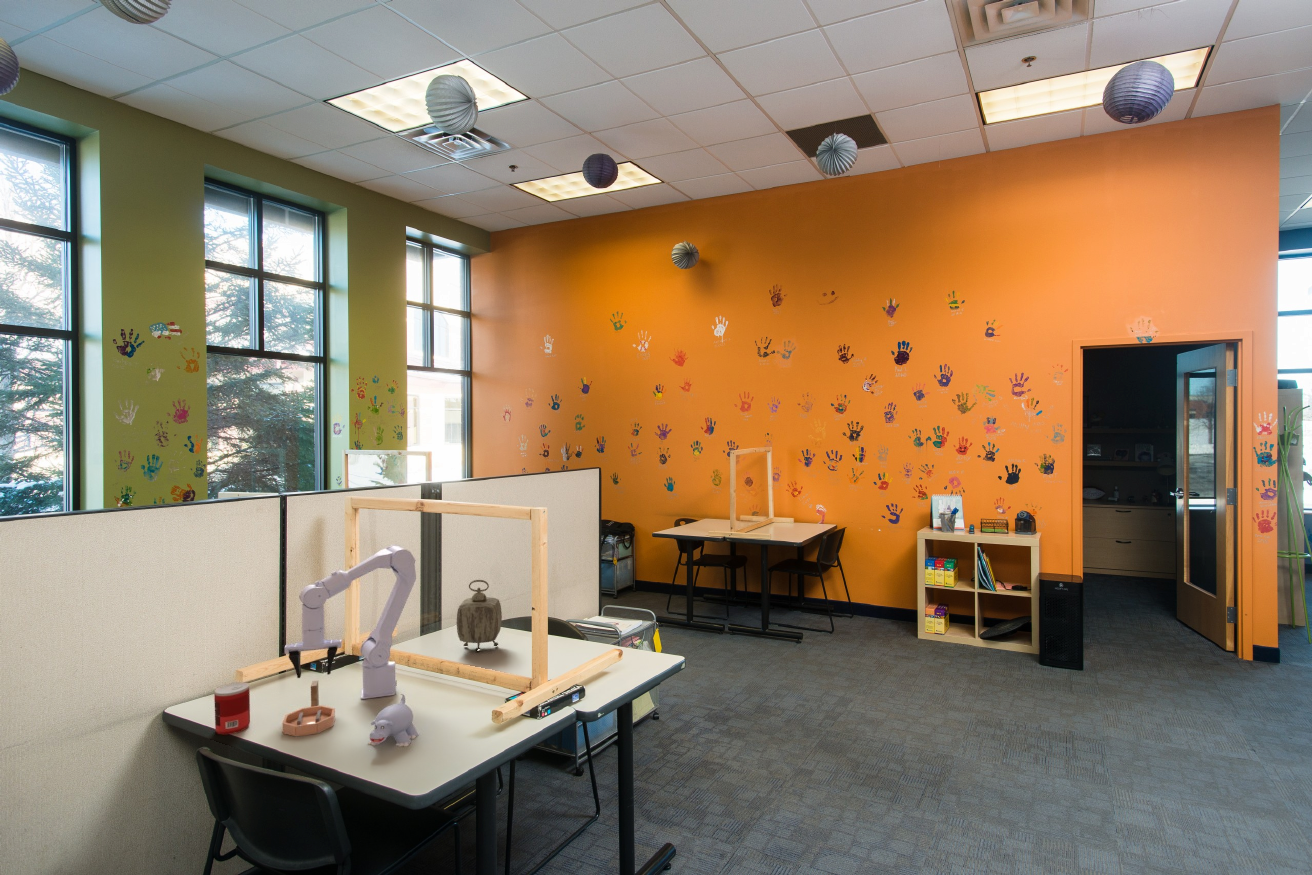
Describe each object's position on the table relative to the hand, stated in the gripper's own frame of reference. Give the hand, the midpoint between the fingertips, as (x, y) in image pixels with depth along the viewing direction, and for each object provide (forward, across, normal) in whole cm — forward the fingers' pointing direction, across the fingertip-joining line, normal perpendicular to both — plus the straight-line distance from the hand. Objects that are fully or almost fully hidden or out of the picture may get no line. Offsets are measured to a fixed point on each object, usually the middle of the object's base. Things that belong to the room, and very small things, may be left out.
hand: (314, 674), depth 197 cm
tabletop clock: (+10, -49, -33) cm, 60 cm away
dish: (+9, 0, +12) cm, 15 cm away
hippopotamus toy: (+10, -21, +30) cm, 38 cm away
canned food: (+10, +19, +7) cm, 22 cm away
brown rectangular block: (+9, 0, 0) cm, 9 cm away
